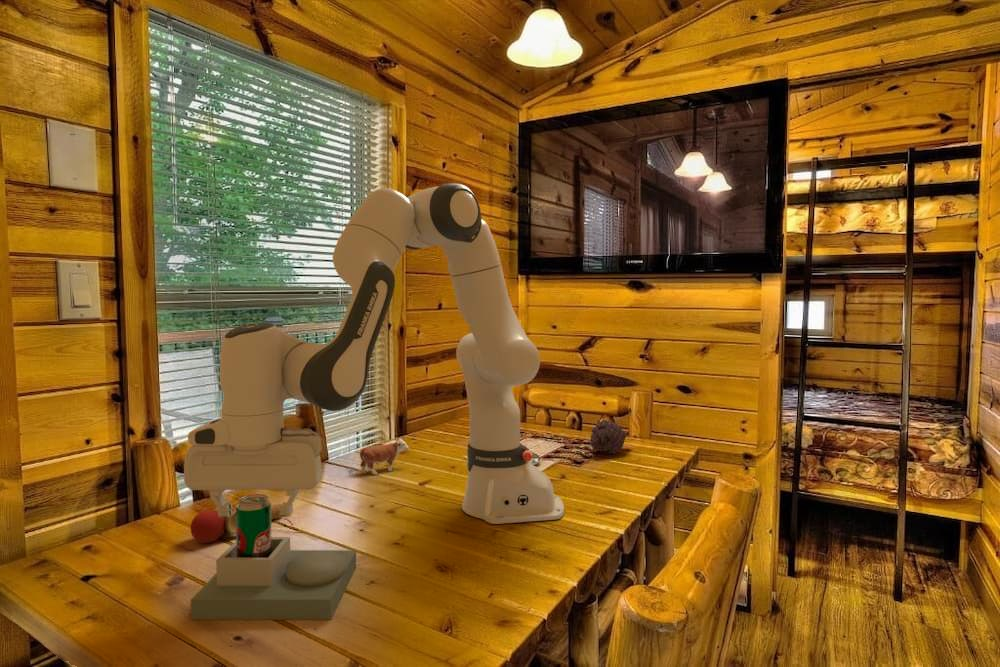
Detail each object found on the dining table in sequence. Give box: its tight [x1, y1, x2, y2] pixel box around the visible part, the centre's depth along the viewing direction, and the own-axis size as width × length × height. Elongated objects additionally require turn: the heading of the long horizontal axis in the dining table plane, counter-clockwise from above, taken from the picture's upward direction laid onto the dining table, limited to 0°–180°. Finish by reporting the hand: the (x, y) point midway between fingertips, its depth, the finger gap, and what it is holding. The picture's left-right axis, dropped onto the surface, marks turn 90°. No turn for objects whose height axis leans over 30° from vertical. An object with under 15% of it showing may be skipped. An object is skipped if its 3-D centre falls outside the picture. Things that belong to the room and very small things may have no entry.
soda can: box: [235, 493, 273, 558], centre depth 91 cm, size 5×5×12 cm
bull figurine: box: [359, 438, 409, 475], centre depth 153 cm, size 4×13×8 cm, turn 124°
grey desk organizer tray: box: [190, 536, 357, 621], centre depth 91 cm, size 20×16×7 cm
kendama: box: [190, 503, 283, 544], centre depth 114 cm, size 8×6×18 cm
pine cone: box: [589, 419, 630, 454], centre depth 172 cm, size 18×10×10 cm, turn 139°
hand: (256, 515), depth 91 cm, fingers open, 8 cm apart
